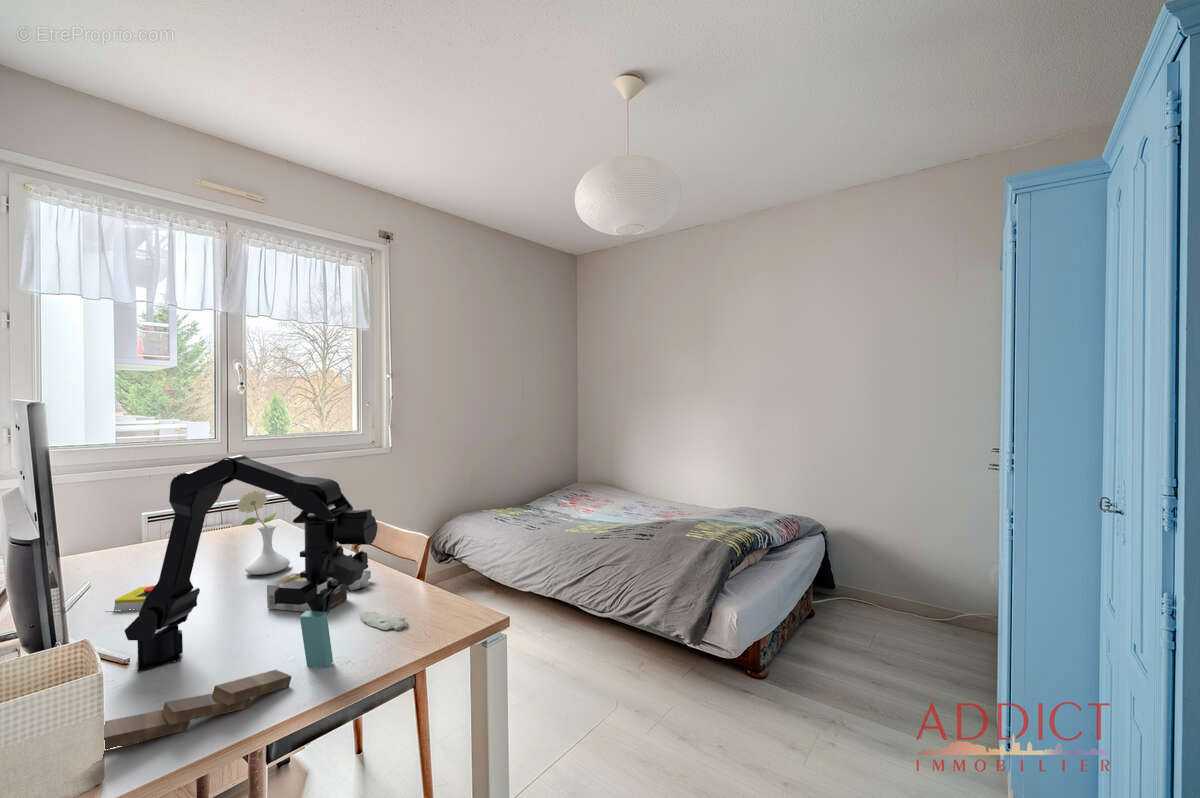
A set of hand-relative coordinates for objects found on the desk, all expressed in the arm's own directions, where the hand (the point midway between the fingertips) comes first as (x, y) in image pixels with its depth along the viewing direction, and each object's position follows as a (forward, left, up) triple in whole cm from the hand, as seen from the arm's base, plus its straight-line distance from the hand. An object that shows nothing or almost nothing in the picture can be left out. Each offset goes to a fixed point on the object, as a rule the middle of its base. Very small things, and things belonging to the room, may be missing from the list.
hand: (322, 620), depth 102 cm
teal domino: (-1, -1, -8) cm, 8 cm away
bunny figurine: (+16, +41, -9) cm, 45 cm away
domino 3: (-8, -3, -8) cm, 11 cm away
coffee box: (-1, +40, -5) cm, 40 cm away
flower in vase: (0, +68, -9) cm, 69 cm away
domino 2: (-14, -5, -8) cm, 17 cm away
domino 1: (-22, -6, -7) cm, 24 cm away
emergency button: (-26, +63, -9) cm, 68 cm away
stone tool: (+15, +10, -9) cm, 20 cm away
